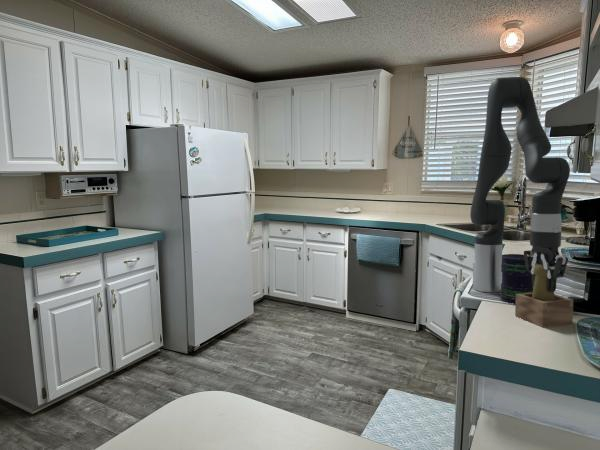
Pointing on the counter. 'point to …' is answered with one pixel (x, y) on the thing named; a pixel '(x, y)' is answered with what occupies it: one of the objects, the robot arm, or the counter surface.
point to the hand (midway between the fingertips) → (543, 288)
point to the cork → (541, 284)
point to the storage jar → (514, 277)
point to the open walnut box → (544, 310)
